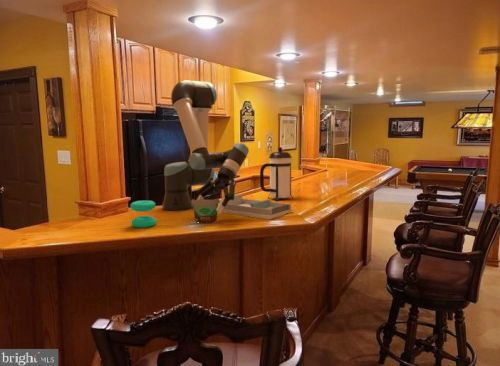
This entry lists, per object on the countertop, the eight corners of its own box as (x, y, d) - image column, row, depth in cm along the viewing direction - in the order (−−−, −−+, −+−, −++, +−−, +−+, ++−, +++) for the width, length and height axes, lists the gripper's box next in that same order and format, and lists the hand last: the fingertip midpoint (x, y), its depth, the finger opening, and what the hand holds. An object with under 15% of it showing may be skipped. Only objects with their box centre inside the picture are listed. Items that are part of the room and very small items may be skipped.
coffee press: (272, 196, 224) (271, 146, 220) (297, 198, 217) (297, 146, 213) (259, 201, 209) (259, 147, 205) (286, 202, 202) (286, 147, 198)
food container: (193, 225, 154) (192, 201, 152) (191, 221, 160) (191, 199, 158) (222, 222, 157) (222, 199, 156) (219, 219, 163) (219, 197, 162)
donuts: (159, 202, 152) (135, 205, 146) (160, 225, 154) (137, 229, 147) (149, 199, 160) (126, 201, 154) (150, 221, 161) (127, 225, 155)
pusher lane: (218, 211, 180) (217, 198, 179) (243, 205, 196) (243, 193, 195) (268, 219, 162) (268, 204, 161) (292, 211, 177) (292, 198, 176)
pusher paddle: (242, 209, 174) (242, 202, 174) (259, 205, 185) (259, 198, 185) (253, 211, 171) (253, 203, 170) (269, 206, 181) (269, 199, 181)
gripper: (254, 178, 161) (233, 218, 151) (212, 175, 176) (190, 212, 166) (246, 167, 156) (224, 208, 146) (204, 165, 171) (181, 202, 161)
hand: (206, 210), depth 156 cm, fingers open, 13 cm apart
